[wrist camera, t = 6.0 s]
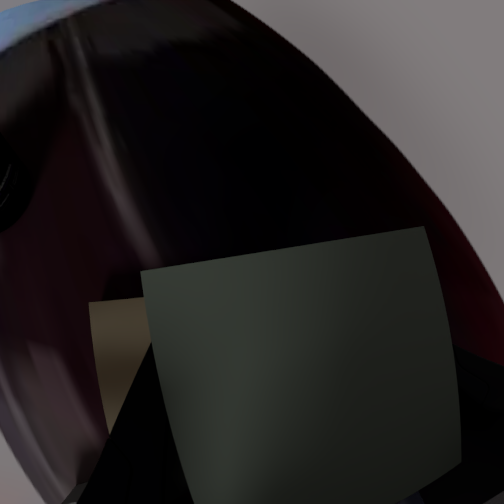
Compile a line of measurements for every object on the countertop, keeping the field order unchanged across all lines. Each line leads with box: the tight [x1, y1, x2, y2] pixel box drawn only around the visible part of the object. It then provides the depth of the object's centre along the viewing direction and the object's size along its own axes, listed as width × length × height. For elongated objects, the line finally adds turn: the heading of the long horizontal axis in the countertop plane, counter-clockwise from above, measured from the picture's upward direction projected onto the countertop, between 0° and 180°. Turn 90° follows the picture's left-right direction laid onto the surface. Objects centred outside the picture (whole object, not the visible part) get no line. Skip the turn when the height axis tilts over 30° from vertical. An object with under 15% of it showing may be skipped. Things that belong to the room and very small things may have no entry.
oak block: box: [89, 297, 151, 434], centre depth 19 cm, size 10×10×3 cm
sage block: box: [140, 226, 461, 504], centre depth 9 cm, size 5×5×11 cm
